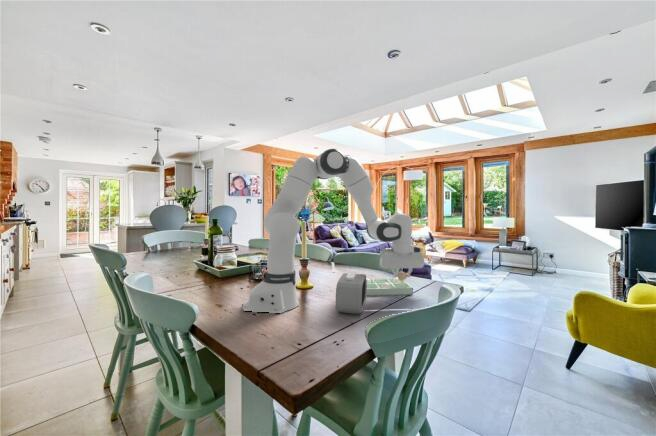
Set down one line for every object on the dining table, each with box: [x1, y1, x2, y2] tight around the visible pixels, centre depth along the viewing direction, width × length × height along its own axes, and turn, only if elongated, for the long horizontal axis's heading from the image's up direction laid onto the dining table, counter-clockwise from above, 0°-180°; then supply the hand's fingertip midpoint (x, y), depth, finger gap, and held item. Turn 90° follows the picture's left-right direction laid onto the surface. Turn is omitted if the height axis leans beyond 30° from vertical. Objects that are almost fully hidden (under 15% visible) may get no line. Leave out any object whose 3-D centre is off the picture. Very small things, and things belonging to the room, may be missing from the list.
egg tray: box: [366, 278, 414, 296], centre depth 132 cm, size 23×16×4 cm
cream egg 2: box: [392, 277, 401, 283], centre depth 136 cm, size 4×4×4 cm
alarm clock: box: [335, 272, 368, 315], centre depth 111 cm, size 21×10×13 cm, turn 166°
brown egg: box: [397, 270, 408, 281], centre depth 129 cm, size 4×4×4 cm
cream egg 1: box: [381, 282, 391, 288], centre depth 128 cm, size 4×4×4 cm
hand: (401, 277), depth 129 cm, fingers closed on brown egg, 4 cm apart
